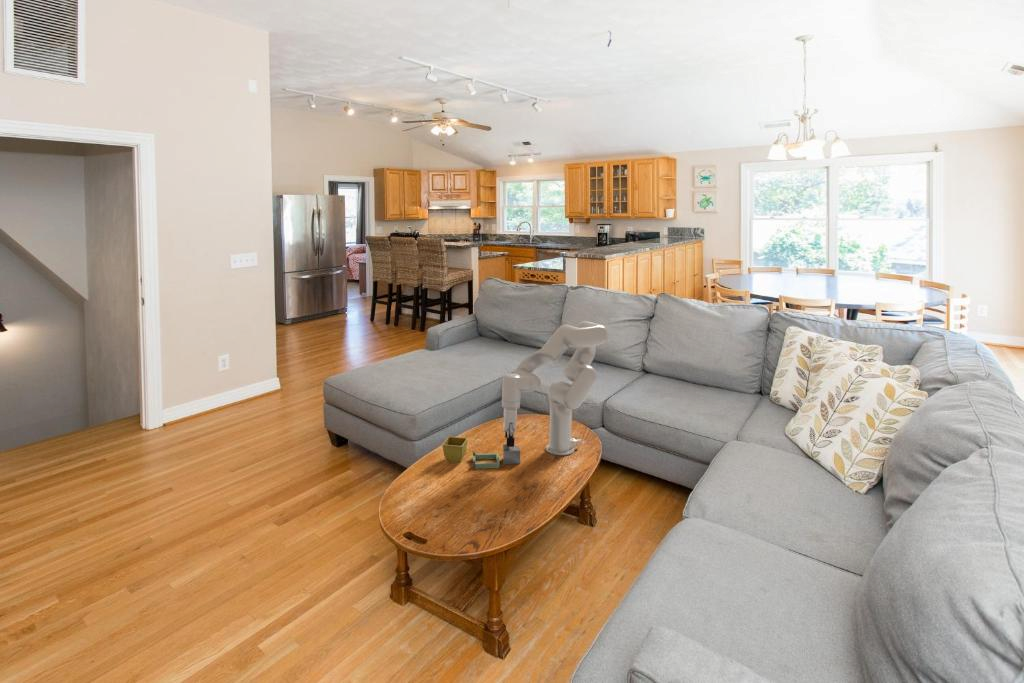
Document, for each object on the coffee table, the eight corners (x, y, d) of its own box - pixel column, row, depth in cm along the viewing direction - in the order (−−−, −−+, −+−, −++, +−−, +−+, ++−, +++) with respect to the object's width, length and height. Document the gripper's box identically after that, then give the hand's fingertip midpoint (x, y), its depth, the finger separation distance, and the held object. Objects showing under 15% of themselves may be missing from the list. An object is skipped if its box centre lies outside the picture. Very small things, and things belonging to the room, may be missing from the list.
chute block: (519, 458, 245) (519, 444, 244) (520, 463, 240) (520, 448, 239) (503, 459, 245) (503, 444, 243) (503, 464, 240) (503, 449, 238)
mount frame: (498, 457, 246) (498, 450, 245) (499, 467, 236) (499, 460, 236) (473, 458, 246) (472, 451, 245) (473, 468, 236) (472, 461, 235)
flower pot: (462, 466, 238) (462, 446, 236) (442, 464, 240) (441, 444, 238) (468, 457, 247) (467, 437, 244) (448, 455, 248) (448, 436, 246)
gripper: (500, 396, 245) (499, 434, 248) (502, 410, 228) (501, 450, 231) (518, 396, 245) (516, 434, 249) (521, 410, 228) (520, 450, 232)
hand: (509, 441), depth 240 cm, fingers open, 9 cm apart
